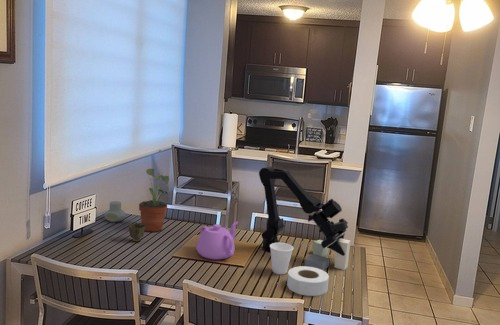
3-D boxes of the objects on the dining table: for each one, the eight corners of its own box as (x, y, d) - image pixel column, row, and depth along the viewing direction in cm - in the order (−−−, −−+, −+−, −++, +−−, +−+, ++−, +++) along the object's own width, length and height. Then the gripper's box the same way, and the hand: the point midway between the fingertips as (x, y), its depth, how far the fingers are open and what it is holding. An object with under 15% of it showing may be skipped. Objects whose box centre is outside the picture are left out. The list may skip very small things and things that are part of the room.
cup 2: (275, 278, 178) (277, 251, 176) (263, 268, 187) (265, 243, 185) (296, 274, 183) (298, 249, 181) (283, 265, 191) (285, 241, 189)
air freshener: (101, 221, 234) (102, 203, 233) (109, 217, 242) (109, 199, 241) (121, 224, 233) (121, 205, 231) (128, 219, 241) (128, 201, 239)
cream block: (334, 267, 193) (337, 241, 192) (337, 264, 198) (340, 238, 196) (344, 270, 191) (347, 243, 190) (347, 266, 196) (350, 240, 194)
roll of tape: (281, 290, 167) (283, 276, 166) (292, 275, 182) (293, 262, 181) (323, 300, 162) (324, 285, 161) (330, 284, 177) (332, 270, 176)
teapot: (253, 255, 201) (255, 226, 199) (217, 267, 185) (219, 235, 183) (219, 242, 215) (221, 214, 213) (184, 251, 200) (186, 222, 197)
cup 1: (125, 242, 206) (125, 225, 205) (134, 237, 213) (135, 221, 212) (138, 245, 204) (138, 228, 202) (147, 240, 211) (148, 224, 209)
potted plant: (165, 235, 220) (168, 165, 215) (134, 232, 220) (137, 163, 215) (171, 225, 235) (174, 160, 230) (142, 223, 235) (145, 158, 230)
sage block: (321, 257, 205) (323, 244, 204) (312, 253, 208) (313, 241, 208) (327, 254, 209) (328, 242, 208) (318, 251, 212) (319, 239, 211)
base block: (304, 268, 191) (305, 259, 191) (311, 262, 198) (312, 254, 198) (322, 272, 187) (322, 263, 187) (328, 267, 194) (329, 258, 194)
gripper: (331, 218, 185) (354, 249, 181) (343, 209, 201) (365, 238, 198) (311, 232, 189) (334, 263, 186) (325, 222, 206) (346, 251, 202)
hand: (345, 253), depth 193 cm, fingers closed on cream block, 5 cm apart
